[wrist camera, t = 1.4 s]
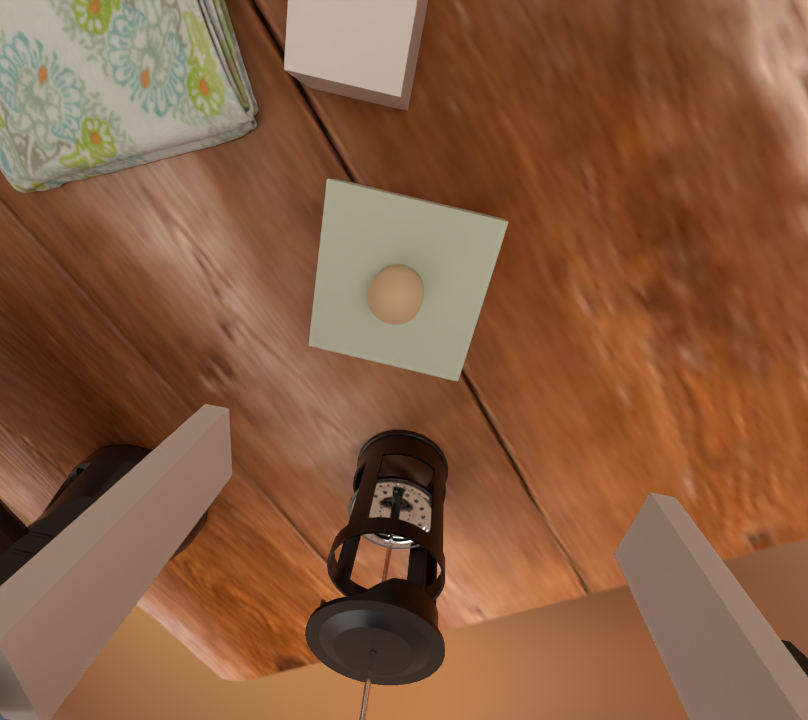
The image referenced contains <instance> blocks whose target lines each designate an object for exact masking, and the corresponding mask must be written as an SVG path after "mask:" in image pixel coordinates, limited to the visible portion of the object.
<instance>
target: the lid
mask: <svg viewBox="0 0 808 720" xmlns="http://www.w3.org/2000/svg"><path fill="white" fill-rule="evenodd" d="M507 225H508V221H506V220H504V219H502V218H499V217H495V216H491V215H487V214H482V213H478V212H474V211H470V210H466V209H461V208H457V207H453V206H449V205H445V204H440V203H436V202H432V201H428V200H424V199H419V198H415V197H411V196H407V195H403V194H398V193H394V192H390V191H386V190H382V189H377V188H373V187H369V186H365V185H361V184H356V183H352V182H348V181H344V180H338V179H327V184H326V193H325V202H324V211H323V220H322V229H321V238H320V247H319V256H318V265H317V274H316V282H315V291H314V300H313V309H312V318H311V327H310V336H309V345H308V346H312V347H316V348H320V349H325V350H329V351H333V352H337V353H341V354H345V355H350V356H354V357H358V358H362V359H366V360H370V361H375V362H379V363H383V364H387V365H391V366H395V367H400V368H404V369H408V370H412V371H416V372H420V373H424V374H429V375H433V376H437V377H441V378H445V379H449V380H454V381H458V380H459V377H460V374H461V370H462V367H463V364H464V361H465V358H466V355H467V351H468V348H469V345H470V342H471V339H472V336H473V333H474V329H475V326H476V323H477V320H478V317H479V314H480V310H481V307H482V304H483V301H484V298H485V295H486V291H487V288H488V285H489V282H490V279H491V276H492V273H493V269H494V266H495V263H496V260H497V257H498V254H499V250H500V247H501V244H502V241H503V238H504V235H505V231H506V228H507Z"/></svg>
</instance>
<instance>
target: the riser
mask: <svg viewBox="0 0 808 720" xmlns="http://www.w3.org/2000/svg"><path fill="white" fill-rule="evenodd" d="M427 4H428V0H288V10H287V27H286V43H285V60H284V70H285V71H287V72H288V73H290V74H291V75H292V76H294V77H295V78H296V79H298V80H299V81H301V82H302V83H303V84H305V85H306V86H307V87H309V88H312V89H316V90H320V91H324V92H328V93H333V94H337V95H341V96H345V97H350V98H354V99H358V100H362V101H366V102H371V103H375V104H379V105H383V106H388V107H392V108H396V109H400V110H404V111H408V108H409V102H410V97H411V91H412V86H413V81H414V75H415V70H416V64H417V59H418V53H419V48H420V42H421V37H422V31H423V26H424V21H425V15H426V10H427Z"/></svg>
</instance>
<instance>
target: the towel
mask: <svg viewBox="0 0 808 720" xmlns="http://www.w3.org/2000/svg"><path fill="white" fill-rule="evenodd" d="M258 111H259V110H258V105H257V102H256V100H255V98H254V95H253V91H252V87H251V84H250V81H249V78H248V75H247V72H246V69H245V65H244V63H243V60H242V56H241V53H240V50H239V46H238V42H237V39H236V36H235V32H234V29H233V26H232V22H231V19H230V16H229V12H228V9H227V6H226V2H225V0H0V170H1V172H2V173H3V175H4V176H5V177H6V179H7V180H8V182H9V183H10V185H11V186H12V187H13V188H14V189H15V190H17V191H20V192H23V193H30V192H33V191H46V190H49V189H52V188H58V187H61V185H62V184H64V183H68V182H69V181H77V180H83V179H87V178H90V177H95V176H99V175H103V174H107V173H112V172H115V171H119V170H123V169H128V168H132V167H135V166H138V165H143V164H147V163H151V162H154V161H157V160H161V159H165V158H170V157H174V156H177V155H180V154H184V153H188V152H192V151H196V150H200V149H204V148H208V147H213V146H216V145H219V144H222V143H225V142H229V141H232V140H234V139H237V138H240V137H242V136H244V135H246V134H248V132H249V131H250V130H253V129H255V128H256V127H257V122H256V120H255V118H254V116H255V115H256V114H257V113H258Z"/></svg>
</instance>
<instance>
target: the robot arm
mask: <svg viewBox="0 0 808 720" xmlns="http://www.w3.org/2000/svg"><path fill="white" fill-rule="evenodd" d="M231 477H232V459H231V438H230V418H229V408H224V407H219V406H214V405H209V404H204V405H203V406H202V407H201V408H200V409H199V410H198V411H197V412H196V413H194V414H193V415H192V416H191V417H190V418H189V419H188V420H187V421H185V422H184V423H183V424H182V425H181V426H180V427H179V428H178V429H176V430H175V431H174V432H173V433H172V434H171V435H170V436H169V437H167V438H166V439H165V440H164V441H163V442H162V443H161V444H160V445H158V446H157V447H156V448H155V449H154V450H153V451H149V450H146V449H143V448H139V447H134V446H126V445H115V446H109V447H105V448H102V449H100V450H98V451H96V452H94V453H93V454H92V455H90V456H89V457H88V458H86V459H85V460H84V461H82V462H81V463H80V464H79V465H77V466H76V467H75V468H74V469H73V471H72V472H71V473H70V475H69V476H68V478H67V479H66V481H65V482H64V483H63V485H62V486H61V487H60V489H59V490H58V492H57V493H56V495H55V496H54V497H53V499H52V500H51V502H50V503H49V504H48V506H47V507H46V509H45V510H44V512H43V513H42V514H41V516H40V517H39V518H38V519H37V520H36V521H35V522H33V523H32V524H31V525H30V526H28V527H26V526H25V524H24V523H23V522H22V521H21V520H20V519H19V518H18V517H17V516H16V515H15V514H14V513H13V512H12V511H11V510H10V509H9V508H8V507H7V506H6V504H5V503H4V502H3V501H2V500H1V499H0V720H50V718H51V717H52V716H53V714H54V713H55V712H56V710H57V709H58V708H59V706H60V705H61V704H62V702H63V701H64V700H65V698H66V697H67V696H68V694H69V693H70V692H71V690H72V689H73V688H74V686H75V685H76V684H77V682H78V681H79V680H80V678H81V677H82V676H83V674H84V673H85V672H86V670H87V669H88V668H89V666H90V665H91V664H92V662H93V661H94V659H95V658H96V657H97V656H98V654H99V653H100V652H101V650H102V649H103V648H104V646H105V645H106V644H107V642H108V641H109V640H110V638H111V637H112V636H113V634H114V633H115V632H116V630H117V629H118V628H119V626H120V625H121V623H122V622H123V621H124V619H125V618H126V617H127V616H128V614H129V613H130V612H131V610H132V609H133V607H134V606H135V605H136V604H137V602H138V601H139V600H140V598H141V597H142V596H143V594H144V593H145V592H146V590H147V589H148V588H149V586H150V585H151V584H152V582H153V581H154V580H155V578H156V577H157V575H158V574H159V573H160V571H161V570H162V569H163V567H164V566H165V565H166V563H168V562H169V561H170V560H171V559H173V558H174V557H175V556H176V555H177V554H179V553H180V552H182V551H183V550H184V549H186V548H187V547H188V546H189V545H190V544H191V543H192V541H193V540H194V539H195V537H196V536H197V534H198V533H199V532H200V530H201V529H202V527H203V526H204V524H205V521H206V516H207V509H208V507H209V506H210V505H211V503H212V502H213V501H214V499H215V498H216V497H217V495H218V494H219V493H220V491H221V490H222V489H223V487H224V486H225V485H226V483H227V482H228V481H229V479H230V478H231ZM614 555H615V557H616V559H617V561H618V564H619V566H620V568H621V570H622V572H623V575H624V577H625V579H626V581H627V583H628V586H629V588H630V590H631V592H632V594H633V597H634V599H635V601H636V603H637V605H638V608H639V610H640V612H641V614H642V617H643V619H644V621H645V623H646V625H647V628H648V630H649V632H650V634H651V636H652V639H653V641H654V643H655V644H656V647H657V650H658V652H659V654H660V656H661V658H662V661H663V663H664V665H665V667H666V669H667V672H668V674H669V676H670V678H671V680H672V683H673V685H674V687H675V689H676V691H677V694H678V696H679V698H680V700H681V703H682V705H683V707H684V709H685V711H686V714H687V716H688V718H689V720H808V658H806V657H805V655H803V654H802V653H801V652H800V651H799V650H798V649H797V648H796V647H795V646H794V645H793V644H792V643H791V642H789V641H784V640H780V638H779V637H778V636H777V634H776V633H775V632H774V630H773V629H772V628H771V626H770V625H769V624H768V622H767V621H766V619H765V618H764V617H763V615H762V614H761V613H760V611H759V610H758V609H757V607H756V606H755V604H754V603H753V602H752V600H751V599H750V598H749V596H748V595H747V594H746V592H745V591H744V590H743V588H742V587H741V585H740V584H739V583H738V581H737V580H736V579H735V577H734V576H733V575H732V573H731V572H730V570H729V569H728V568H727V566H726V565H725V564H724V562H723V561H722V560H721V558H720V557H719V556H718V554H717V553H716V551H715V550H714V549H713V547H712V546H711V545H710V543H709V542H708V541H707V539H706V538H705V536H704V535H703V534H702V532H701V531H700V530H699V528H698V527H697V526H696V524H695V523H694V522H693V520H692V519H691V517H690V516H689V515H688V513H687V512H686V511H685V509H684V508H683V507H682V505H681V504H680V502H679V501H678V500H677V498H676V497H671V496H666V495H660V494H655V493H650V494H649V496H648V497H647V499H646V501H645V502H644V504H643V506H642V508H641V509H640V511H639V513H638V514H637V516H636V518H635V519H634V521H633V523H632V524H631V526H630V528H629V529H628V531H627V533H626V534H625V536H624V538H623V539H622V541H621V543H620V544H619V546H618V548H617V549H616V551H615V553H614Z"/></svg>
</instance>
